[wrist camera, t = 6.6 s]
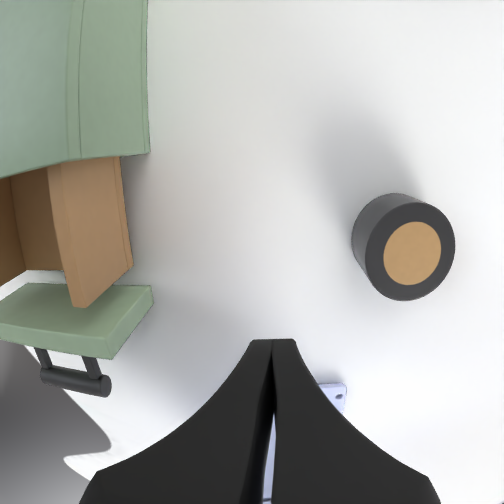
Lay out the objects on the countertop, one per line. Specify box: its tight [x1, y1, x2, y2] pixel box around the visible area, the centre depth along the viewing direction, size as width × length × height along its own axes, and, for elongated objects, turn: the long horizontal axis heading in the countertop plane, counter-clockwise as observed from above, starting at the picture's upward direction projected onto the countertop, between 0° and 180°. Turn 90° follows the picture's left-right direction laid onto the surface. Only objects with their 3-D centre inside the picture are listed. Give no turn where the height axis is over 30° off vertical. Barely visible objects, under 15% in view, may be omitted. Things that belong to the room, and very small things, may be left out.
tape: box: [352, 193, 455, 301], centre depth 15 cm, size 5×5×3 cm
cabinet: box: [0, 0, 150, 179], centre depth 11 cm, size 14×12×8 cm
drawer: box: [0, 156, 154, 398], centre depth 15 cm, size 17×10×6 cm, turn 3°
